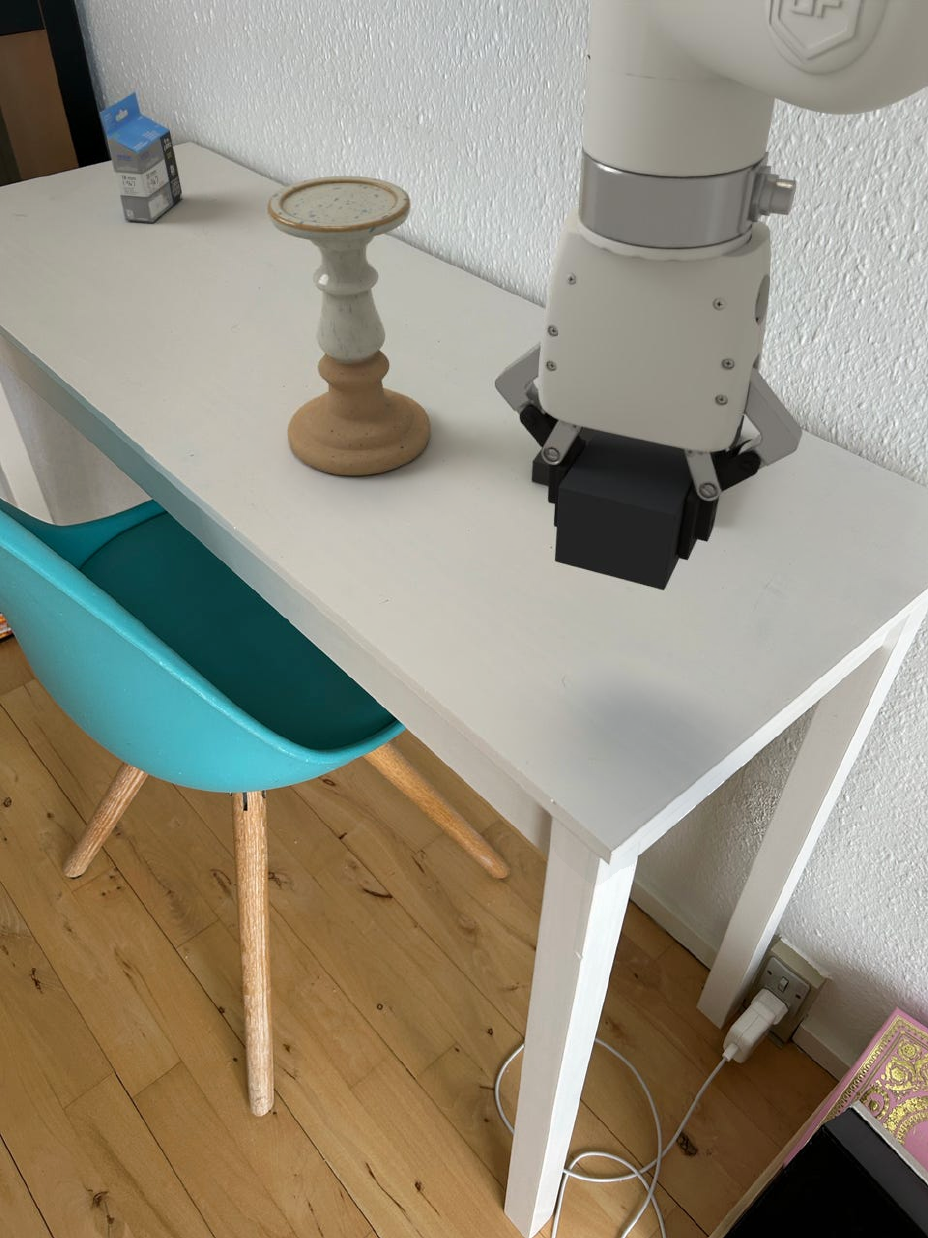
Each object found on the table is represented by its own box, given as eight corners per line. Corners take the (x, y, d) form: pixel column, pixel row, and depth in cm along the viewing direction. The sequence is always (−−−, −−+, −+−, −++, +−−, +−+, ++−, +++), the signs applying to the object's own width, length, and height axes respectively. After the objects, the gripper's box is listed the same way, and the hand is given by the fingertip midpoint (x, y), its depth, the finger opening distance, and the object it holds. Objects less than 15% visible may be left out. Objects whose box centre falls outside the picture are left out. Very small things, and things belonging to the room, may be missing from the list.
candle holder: (275, 474, 81) (234, 230, 67) (303, 397, 90) (273, 168, 76) (423, 480, 80) (413, 235, 66) (437, 402, 89) (431, 171, 75)
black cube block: (694, 525, 56) (707, 451, 52) (664, 591, 52) (676, 514, 48) (591, 501, 58) (597, 427, 54) (554, 561, 54) (558, 486, 50)
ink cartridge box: (153, 224, 119) (129, 115, 111) (124, 221, 120) (98, 112, 112) (184, 197, 126) (164, 92, 117) (156, 195, 126) (134, 90, 118)
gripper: (889, 191, 42) (799, 529, 54) (514, 144, 47) (509, 460, 59) (864, 257, 37) (771, 613, 49) (447, 196, 42) (457, 529, 54)
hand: (627, 526), depth 54 cm, fingers closed on black cube block, 6 cm apart
